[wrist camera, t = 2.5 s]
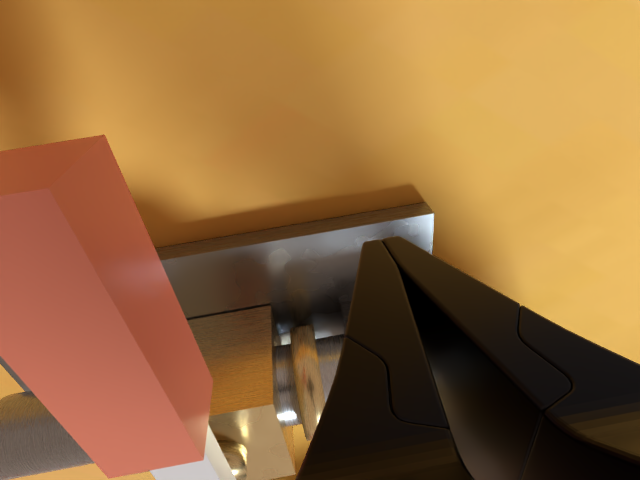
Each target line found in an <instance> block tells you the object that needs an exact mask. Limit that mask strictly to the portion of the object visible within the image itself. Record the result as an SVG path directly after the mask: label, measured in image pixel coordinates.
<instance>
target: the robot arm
mask: <svg viewBox="0 0 640 480" xmlns="http://www.w3.org/2000/svg"><path fill="white" fill-rule="evenodd" d="M295 480H640V364H638V363H636V362H633V361H631V360H629V359H627V358H625V357H623V356H621V355H618V354H616V353H614V352H612V351H610V350H608V349H606V348H604V347H601V346H599V345H597V344H595V343H593V342H591V341H589V340H587V339H585V338H583V337H581V336H579V335H577V334H575V333H573V332H571V331H569V330H567V329H565V328H563V327H561V326H559V325H557V324H555V323H554V322H552V321H550V320H548V319H546V318H544V317H542V316H541V315H539V314H537V313H535V312H533V311H532V310H530V309H528V308H526V307H525V306H520V304H519V303H517V302H515V301H514V300H512V299H510V298H508V297H507V296H505V295H503V294H501V293H500V292H498V291H496V290H494V289H492V288H491V287H489V286H487V285H485V284H484V283H482V282H480V281H478V280H477V279H475V278H473V277H471V276H469V275H468V274H466V273H464V272H462V271H461V270H459V269H457V268H455V267H454V266H452V265H450V264H448V263H446V262H445V261H443V260H441V259H439V258H438V257H436V256H434V255H432V254H431V253H429V252H427V251H425V250H423V249H422V248H420V247H418V246H416V245H415V244H413V243H411V242H409V241H408V240H406V239H404V238H402V237H400V236H393V237H388V238H383V239H382V241H381V240H380V239H376V240H371V241H365V242H363V245H362V250H361V255H360V260H359V265H358V270H357V275H356V280H355V285H354V290H353V295H352V300H351V305H350V310H349V315H348V320H347V325H346V330H345V335H344V340H343V344H342V349H341V354H340V358H339V362H338V366H337V370H336V374H335V377H334V380H333V383H332V386H331V389H330V392H329V395H328V398H327V401H326V403H325V406H324V408H323V411H322V414H321V416H320V419H319V422H318V424H317V427H316V430H315V432H314V435H313V438H312V440H311V443H310V446H309V448H308V451H307V453H306V456H305V459H304V461H303V463H302V466H301V468H300V470H299V473H298V475H297V477H296V479H295Z"/></svg>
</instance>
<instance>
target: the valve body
mask: <svg viewBox="0 0 640 480" xmlns="http://www.w3.org/2000/svg"><path fill="white" fill-rule="evenodd" d="M433 228H434V212H433V211H432V210H431V209H430V207H429V206H428V205H427V203H426V202H424V203H418V204H413V205H407V206H401V207H395V208H389V209H383V210H378V211H372V212H366V213H360V214H354V215H348V216H343V217H337V218H331V219H325V220H319V221H313V222H307V223H302V224H296V225H290V226H284V227H278V228H272V229H267V230H261V231H255V232H249V233H243V234H237V235H232V236H226V237H220V238H214V239H208V240H202V241H196V242H191V243H185V244H179V245H173V246H167V247H161V248H156V249H155V250H156V252H157V254H158V257H159V259H160V261H161V263H162V266H163V268H164V270H165V272H166V275H167V277H168V279H169V281H170V284H171V286H172V288H173V290H174V293H175V295H176V297H177V300H178V302H179V304H180V306H181V309H182V311H183V313H184V315H185V318H186V320H187V322H188V324H189V327H190V329H191V331H192V333H193V336H194V338H195V340H196V342H197V345H198V347H199V349H200V351H201V354H202V356H203V358H204V361H205V363H206V365H207V367H208V370H209V372H210V374H211V376H212V379H213V388H212V396H211V404H210V412H209V420H208V425H209V427H210V429H211V431H212V432H213V434H214V436H215V438H216V440H217V442H218V444H219V446H220V448H221V450H222V452H223V454H224V456H225V458H226V460H227V462H228V464H229V466H230V468H231V470H232V472H233V474H234V476H235V478H236V480H269V479H274V478H280V477H285V476H290V475H295V474H296V470H295V455H294V441H293V425H298V424H302V425H303V429H304V433H305V437H306V439H307V441H309V440H312V438H313V435H314V432H315V430H316V427H317V424H318V422H319V419H320V416H321V414H322V411H323V408H324V406H325V403H326V401H327V398H328V395H329V392H330V389H331V386H332V383H333V380H334V377H335V374H336V370H337V366H338V362H339V358H340V354H341V349H342V344H343V340H344V335H345V330H346V325H347V320H348V315H349V310H350V305H351V300H352V295H353V290H354V285H355V280H356V275H357V270H358V265H359V260H360V255H361V250H362V245H363V242H365V241H371V240H376V239H380V240H381V241H382V239H383V238H388V237H393V236H400V237H402V238H404V239H406V240H408V241H409V242H411V243H413V244H415V245H416V246H418V247H420V248H422V249H423V250H425V251H427V252H429V253H431V254H432V249H433ZM0 364H1V365H2V366H3V367H4V368H5V369H6V371H7V372H8V373H9V374H10V375H11V376H12V377H13V378H14V379H15V381H16V382H17V383H18V384H19V385H20V386H21V387H22V388H23V389H24V391H25V392H22V393H16V394H11V395H8V396H6V397H4V398H2V399H1V400H0V480H9V479H14V478H19V477H24V476H30V475H35V474H40V473H45V472H51V471H56V470H61V469H66V468H72V467H77V466H82V465H88V464H93V463H95V462H94V461H93V460H92V459H91V458H90V457H89V456H88V454H87V453H86V452H85V451H84V450H83V449H82V448H81V447H80V445H79V444H78V443H77V442H76V441H75V440H74V439H73V437H72V436H71V435H70V434H69V433H68V432H67V431H66V430H65V428H64V427H63V426H62V425H61V424H60V423H59V422H58V420H57V419H56V418H55V417H54V416H53V415H52V414H51V413H50V411H49V410H48V409H47V408H46V407H45V406H44V405H43V404H42V402H41V401H40V400H39V399H38V398H37V397H36V396H35V394H34V393H33V392H32V391H31V390H30V389H29V388H28V387H27V385H26V384H25V383H24V382H23V381H22V380H21V379H20V377H19V376H18V375H17V374H16V373H15V372H14V371H13V370H12V368H11V367H10V366H9V365H8V364H7V363H6V362H5V360H4V359H3V358H2V357H1V356H0ZM145 472H148V471H145ZM140 473H142V472H140ZM135 474H137V473H135ZM129 475H132V474H129ZM124 476H127V475H124Z"/></svg>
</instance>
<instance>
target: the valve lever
mask: <svg viewBox="0 0 640 480" xmlns="http://www.w3.org/2000/svg"><path fill="white" fill-rule="evenodd" d="M0 356H1V357H2V358H3V359H4V360H5V362H6V363H7V364H8V365H9V366H10V367H11V368H12V370H13V371H14V372H15V373H16V374H17V375H18V376H19V377H20V379H21V380H22V381H23V382H24V383H25V384H26V385H27V387H28V388H29V389H30V390H31V391H32V392H33V393H34V394H35V396H36V397H37V398H38V399H39V400H40V401H41V402H42V404H43V405H44V406H45V407H46V408H47V409H48V410H49V411H50V413H51V414H52V415H53V416H54V417H55V418H56V419H57V420H58V422H59V423H60V424H61V425H62V426H63V427H64V428H65V430H66V431H67V432H68V433H69V434H70V435H71V436H72V437H73V439H74V440H75V441H76V442H77V443H78V444H79V445H80V447H81V448H82V449H83V450H84V451H85V452H86V453H87V454H88V456H89V457H90V458H91V459H92V460H93V461H94V462H95V464H96V465H97V466H98V467H99V468H100V469H101V470H102V471H103V473H104V474H105V475H106V476H107V477H108V478H114V477H119V476H124V475H129V474H135V473H140V472H145V471H150V472H151V473H152V475H153V476H154V477H155V479H156V480H236V478H235V476H234V474H233V472H232V470H231V468H230V466H229V464H228V462H227V460H226V458H225V456H224V454H223V452H222V450H221V448H220V446H219V444H218V442H217V440H216V438H215V436H214V434H213V432H212V431H211V429H210V427H209V425H208V420H209V412H210V404H211V396H212V388H213V379H212V376H211V374H210V372H209V370H208V367H207V365H206V363H205V361H204V358H203V356H202V354H201V351H200V349H199V347H198V345H197V342H196V340H195V338H194V336H193V333H192V331H191V329H190V327H189V324H188V322H187V320H186V318H185V315H184V313H183V311H182V309H181V306H180V304H179V302H178V300H177V297H176V295H175V293H174V290H173V288H172V286H171V284H170V281H169V279H168V277H167V275H166V272H165V270H164V268H163V266H162V263H161V261H160V259H159V257H158V254H157V252H156V250H155V248H154V245H153V243H152V241H151V238H150V236H149V234H148V232H147V229H146V227H145V225H144V223H143V220H142V218H141V216H140V214H139V211H138V209H137V207H136V205H135V202H134V200H133V198H132V196H131V193H130V191H129V189H128V186H127V184H126V182H125V180H124V177H123V175H122V173H121V171H120V168H119V166H118V164H117V162H116V159H115V157H114V155H113V153H112V150H111V148H110V146H109V144H108V141H107V139H106V137H105V135H100V136H94V137H87V138H81V139H75V140H69V141H62V142H56V143H50V144H44V145H37V146H31V147H25V148H19V149H12V150H6V151H0Z"/></svg>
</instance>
